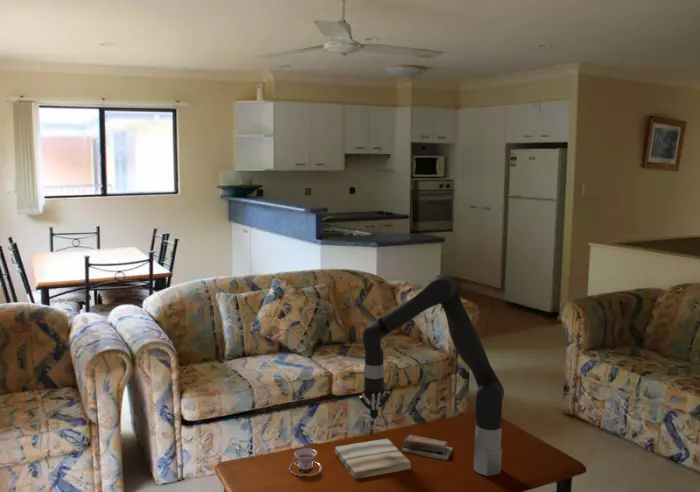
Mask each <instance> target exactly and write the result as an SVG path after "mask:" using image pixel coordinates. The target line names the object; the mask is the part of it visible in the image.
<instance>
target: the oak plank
mask: <svg viewBox="0 0 700 492" xmlns="http://www.w3.org/2000/svg"><path fill="white" fill-rule="evenodd" d="M411 464H412V463H411V461H410V460H409V458H407V457H406V456H405V455H404V454H403V452H401V451H400V450H398V451H393V452H387V453H382V454H376V455H370V456H364V457H358V458H352V459H346V460H345V465H344V467H345V469H346V470H347V471H348V473H349V474H350V475H351V476H352V478H353V479H354V480H358V479H362V478H369V477H374V476H381V475H384V474H390V473H396V472H402V471H406V470H411V466H412V465H411Z"/></svg>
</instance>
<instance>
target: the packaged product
mask: <svg viewBox="0 0 700 492" xmlns="http://www.w3.org/2000/svg"><path fill="white" fill-rule="evenodd" d="M448 444H449V443H448V441H443V440H441V439H439V440H438V439H434V438H428V437H424V436H419V435H413V434H408V435H407V437H406V438H405V439H404V442H403V447H402V449H401V451H402V452H401V453H406V454H412V455H416V456H422V457H426V458H427V457H428V458H433V459H438V460H443V461H448V459H449V457H450V456H451V454H452V452H453V447H452V446H451V447H450V446H448Z"/></svg>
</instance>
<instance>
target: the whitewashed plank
mask: <svg viewBox="0 0 700 492" xmlns="http://www.w3.org/2000/svg"><path fill="white" fill-rule="evenodd" d="M393 451H399V449H398V448H397V447H396V446H395V444H394V443H393V442H392V441H391V440H390V439H389V438H382V439H381V438H380V439H376V440H370V441H364V442H357V443H350V444H345V445H337V446H334V454H335V455H336V456H337V458H338V459H339V460H340V462H341V463H342V464H343V466H345V460H346V459H352V458H358V457H364V456H370V455H376V454H382V453H387V452H393Z"/></svg>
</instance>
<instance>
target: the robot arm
mask: <svg viewBox="0 0 700 492" xmlns="http://www.w3.org/2000/svg"><path fill="white" fill-rule="evenodd" d="M458 290H459V289H458V287H457V284H456V281H455V280H454V278H453V277H451V276H450V275H448V274H446V273H439V274H437V275H436V276H434V277H433V278H432V279H431V280H430V281H429V283H428V284H427V285H426V286H425V287H424V288H423V289H422V290H421V291H420V292H419V293H417V294H416V295H415V296H413V297H411V298H410V299H408V300H406V301H405V302H402V303H400V304H399V305H397V306H395V307H393V309H391V310H389V311H388V312H386V313H385V314H384V315H383V316H381V317H379V318H378V319H376V320H374V321H373V322H371V323H369V324H368V325H367V326H366V327H365V328H364V329H363V332H362V343H363V348H364V349H363V350H364V369H363V370H364V371H363V375H364V377H363V379H364V380H363V383H364V384H363V386H364V387H363V388H364V389H363V390H362V391H363V392H362V394H361V395H358V397H357V399H359V401H360V402H361V403H362V405H363V406H364V407H366V409H368V410H369V416H370V418H371V419H372V420H375V419H377V418H378V417H379V408H383V406H384V405H385V403H386V402H387V400H388V399H389V397H390V393H389V392H388V391H386V388H385V365H384V350H383V348H382V347H381V346H382V345H381V341H382V339H383V338H384V337H386V336H387V335H388V334H390V333H391V332H393V331H396V330H398V329H399V328H401V327H403V326H404V325H406V324H407V323H409V322H410V321H411V320H413V319H414V318H416V317H417V316H419V314H421V313H423V312H425V311H427V310H428V309H430V308H432V307H434V306H437V305H439V304H440V306H441V307H442V309H443V311H444V313H445V317H446V321H447V326H448V331H449V334H450V338H451V340H452V343H453V345H454V347H455V349H456V352H457V354H458V356H459V357H460V358H461V359H462V361H463V362H464V364H466V366H467V367H468V368H469V369H470V371H471V373H472V375H473V378H474V379H475V383H476V385H477V392H476V396H475V411H474V412H475V415H474V416H475V433H474V455H473V471H475V472H476V473H478V474H480V475H483V476H485V477H491V476H494V475H495V476H496V475H500V474H502V473H501V471H502V470H501V469H502V453H503V450H502V448H501V447H502V444H501V443H502V428H503V427H502V425H503V418H502V411H503V399H504V396H505V389H504V387H503V384H502V382H501V381H500V379H499V378H498V376H497V374H496V373H495V371H494V369H493V367H492V365H491V363H490V362H489V359H488V356H487V354H486V351H485V349H484V347H483V343H482V341H481V339H480V337H479V335H478V333H477V330H476V328H475V326H474V324H473V322H472V320H471V318H470V316H469V314H468V312H467V310H466V309H465V306H464V303H463V301H462V299H461V296H460V294H459V291H458ZM366 399H367V400H368V402H367V400H366Z"/></svg>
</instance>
